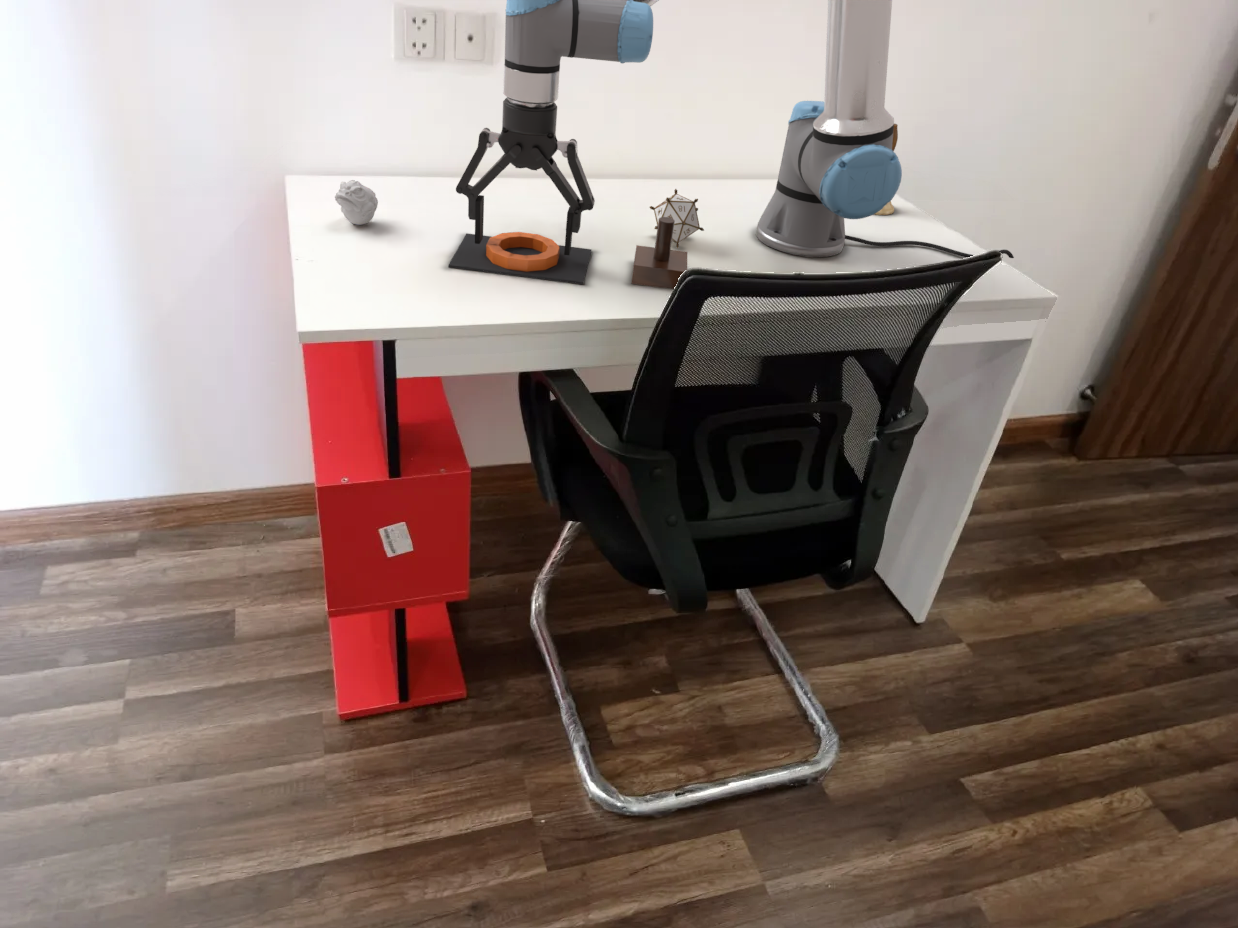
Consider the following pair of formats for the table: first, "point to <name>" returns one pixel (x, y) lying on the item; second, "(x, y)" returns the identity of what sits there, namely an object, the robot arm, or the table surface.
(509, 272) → the mat
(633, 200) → the table surface
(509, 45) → the robot arm
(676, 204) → the game die
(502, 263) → the ring
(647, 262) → the post
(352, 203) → the frog figurine
